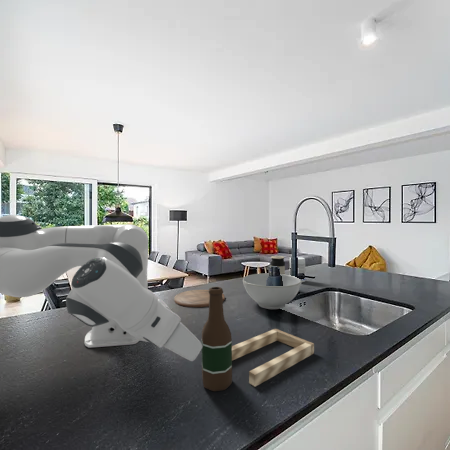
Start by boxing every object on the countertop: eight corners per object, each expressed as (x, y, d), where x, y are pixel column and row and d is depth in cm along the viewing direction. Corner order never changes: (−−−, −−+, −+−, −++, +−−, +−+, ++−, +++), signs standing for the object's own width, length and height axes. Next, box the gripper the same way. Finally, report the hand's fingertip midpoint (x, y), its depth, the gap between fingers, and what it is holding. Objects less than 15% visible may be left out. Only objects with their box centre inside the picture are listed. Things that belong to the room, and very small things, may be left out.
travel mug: (286, 290, 157) (286, 257, 156) (271, 290, 157) (271, 257, 157) (283, 286, 165) (283, 255, 164) (269, 286, 165) (269, 255, 165)
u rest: (255, 386, 69) (254, 374, 69) (217, 362, 81) (216, 352, 80) (313, 353, 85) (313, 343, 85) (275, 337, 97) (275, 328, 97)
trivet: (233, 303, 136) (233, 299, 136) (183, 311, 125) (183, 307, 125) (212, 290, 158) (212, 287, 158) (168, 297, 147) (168, 293, 147)
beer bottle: (229, 394, 66) (228, 293, 65) (197, 390, 68) (196, 291, 67) (234, 375, 74) (233, 284, 73) (206, 372, 76) (204, 283, 75)
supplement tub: (308, 281, 177) (308, 257, 177) (300, 283, 171) (300, 259, 170) (294, 278, 184) (294, 256, 184) (286, 281, 178) (286, 258, 177)
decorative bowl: (257, 294, 150) (257, 271, 150) (308, 301, 136) (308, 276, 136) (232, 308, 127) (232, 281, 127) (290, 319, 113) (290, 289, 113)
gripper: (118, 316, 65) (158, 345, 72) (159, 347, 49) (205, 380, 56) (136, 293, 68) (173, 323, 74) (181, 316, 52) (222, 351, 59)
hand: (187, 348), depth 65 cm, fingers closed
